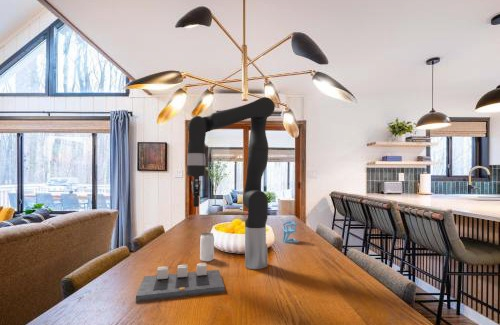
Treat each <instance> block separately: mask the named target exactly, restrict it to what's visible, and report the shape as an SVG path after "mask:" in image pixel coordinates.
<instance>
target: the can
mask: <svg viewBox="0 0 500 325" xmlns="http://www.w3.org/2000/svg"><path fill="white" fill-rule="evenodd" d="M199 242H200V243H199V245H200V246H199V252H200V253H199V260H200V261H201V262H203V263H207V262H212V261H214V260H215V237H214V233H213V232H204V233H203V232H202V233H201V235H200V238H199Z"/></svg>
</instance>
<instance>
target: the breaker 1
mask: <svg viewBox="0 0 500 325" xmlns="http://www.w3.org/2000/svg"><path fill="white" fill-rule="evenodd" d="M156 269H157V273H156V274H157V279H167V278H168V274H169V266H168V265H167V266H158V267H157V268H156Z"/></svg>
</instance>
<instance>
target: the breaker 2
mask: <svg viewBox="0 0 500 325" xmlns="http://www.w3.org/2000/svg"><path fill="white" fill-rule="evenodd" d="M207 266H208V265H207V262H203V263H197V264H196V272H197V276H199V275H207V271H208V269H207Z"/></svg>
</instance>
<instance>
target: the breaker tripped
mask: <svg viewBox="0 0 500 325" xmlns="http://www.w3.org/2000/svg"><path fill="white" fill-rule="evenodd" d="M188 267H189V266H188V264H179V265H177V273H176V274H177V277H187V275H188V272H189V270H188Z"/></svg>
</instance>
